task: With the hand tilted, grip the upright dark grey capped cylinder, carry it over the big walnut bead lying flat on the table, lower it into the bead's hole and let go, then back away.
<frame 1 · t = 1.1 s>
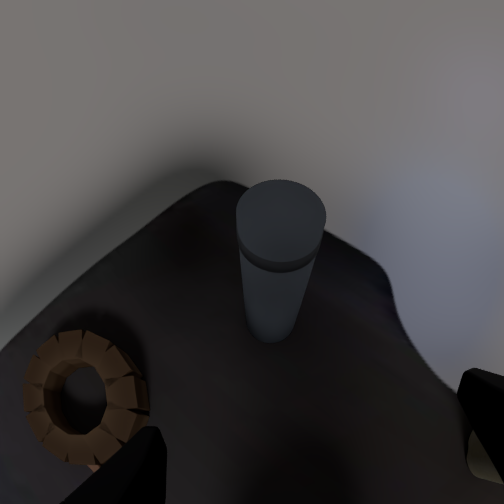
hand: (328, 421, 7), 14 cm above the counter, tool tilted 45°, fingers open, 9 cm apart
dark grey capped cylinder: (270, 320, 23), on the counter
flower pot: (489, 445, 16), on the counter
bead: (89, 401, 19), on the counter
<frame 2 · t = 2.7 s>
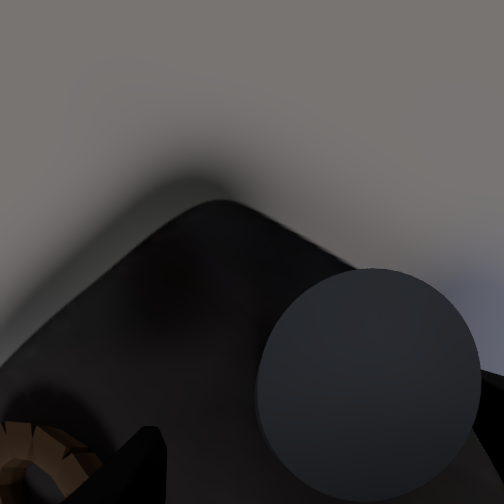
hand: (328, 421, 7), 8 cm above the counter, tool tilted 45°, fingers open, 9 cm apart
dark grey capped cylinder: (292, 416, 14), on the counter
bead: (55, 500, 11), on the counter
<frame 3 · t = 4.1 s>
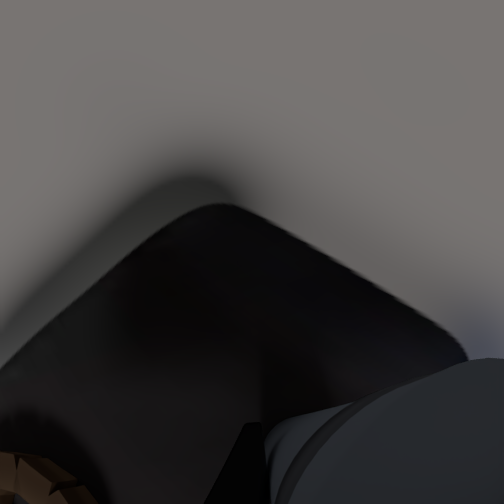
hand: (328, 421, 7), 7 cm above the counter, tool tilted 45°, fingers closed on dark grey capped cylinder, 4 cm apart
dark grey capped cylinder: (301, 451, 12), on the counter, touching gripper
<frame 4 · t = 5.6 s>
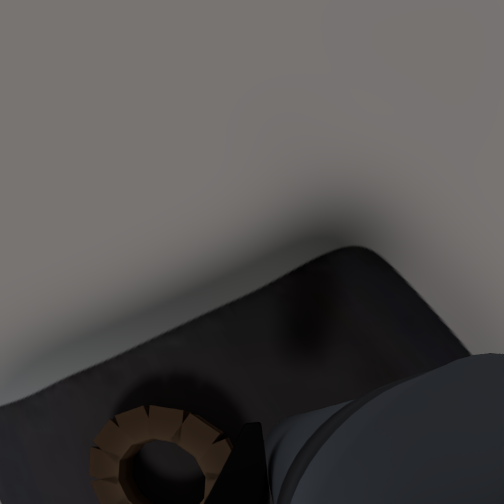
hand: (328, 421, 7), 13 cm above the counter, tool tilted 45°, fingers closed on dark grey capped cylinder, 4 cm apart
dark grey capped cylinder: (302, 450, 12), point 7 cm above the counter, touching gripper
bead: (170, 475, 17), on the counter
when the fingers open (8 cm above the counter, at t = 7.4 s): dark grey capped cylinder drops 1 cm, resting in bead.
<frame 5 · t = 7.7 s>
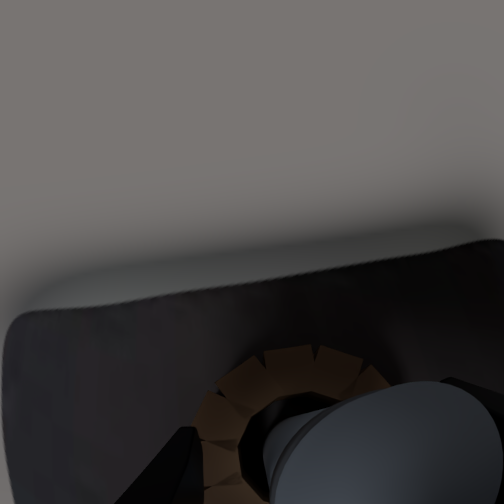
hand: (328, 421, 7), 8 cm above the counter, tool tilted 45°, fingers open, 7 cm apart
dark grey capped cylinder: (297, 448, 13), resting in bead
bead: (297, 448, 13), on the counter
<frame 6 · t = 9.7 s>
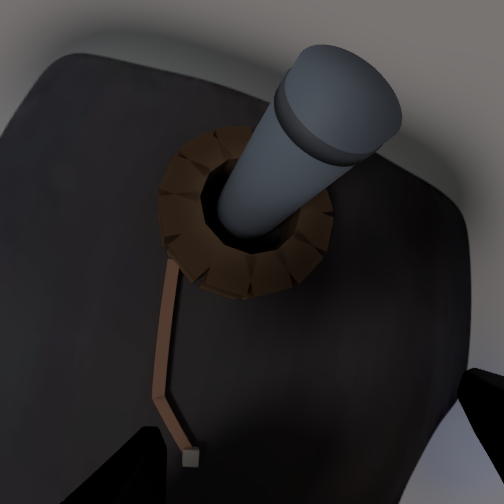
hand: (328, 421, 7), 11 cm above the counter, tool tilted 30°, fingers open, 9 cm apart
dark grey capped cylinder: (241, 216, 19), resting in bead
lace: (164, 330, 17), on the counter
bead: (240, 216, 19), on the counter
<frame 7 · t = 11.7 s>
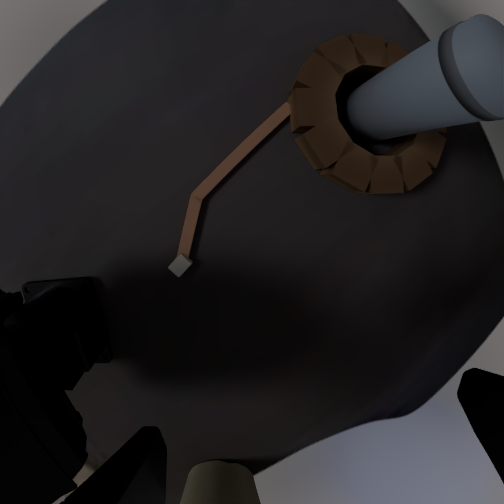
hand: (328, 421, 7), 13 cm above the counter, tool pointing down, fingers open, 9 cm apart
dark grey capped cylinder: (364, 116, 18), resting in bead
flower pot: (220, 474, 24), on the counter
lace: (242, 150, 18), on the counter
bead: (364, 116, 18), on the counter
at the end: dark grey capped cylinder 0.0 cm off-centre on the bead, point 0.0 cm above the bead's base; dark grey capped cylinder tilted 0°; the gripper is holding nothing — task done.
